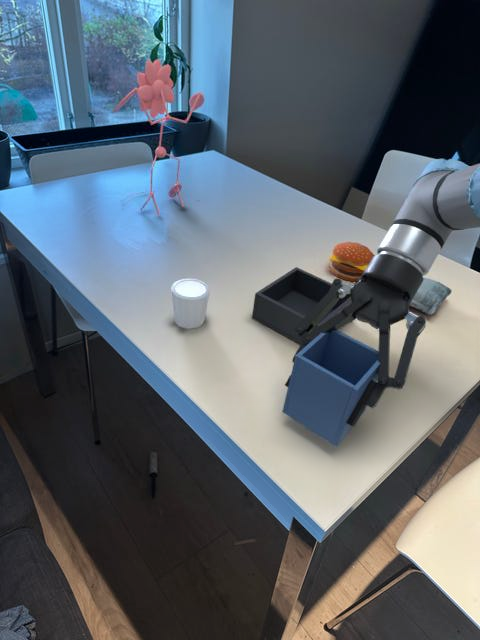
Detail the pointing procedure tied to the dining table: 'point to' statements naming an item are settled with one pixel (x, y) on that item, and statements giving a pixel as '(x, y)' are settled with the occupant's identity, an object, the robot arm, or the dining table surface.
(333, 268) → the hamburger
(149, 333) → the dining table surface
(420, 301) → the packaged food
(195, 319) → the white cup
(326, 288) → the charcoal bin
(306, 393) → the blue bin
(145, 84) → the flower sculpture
